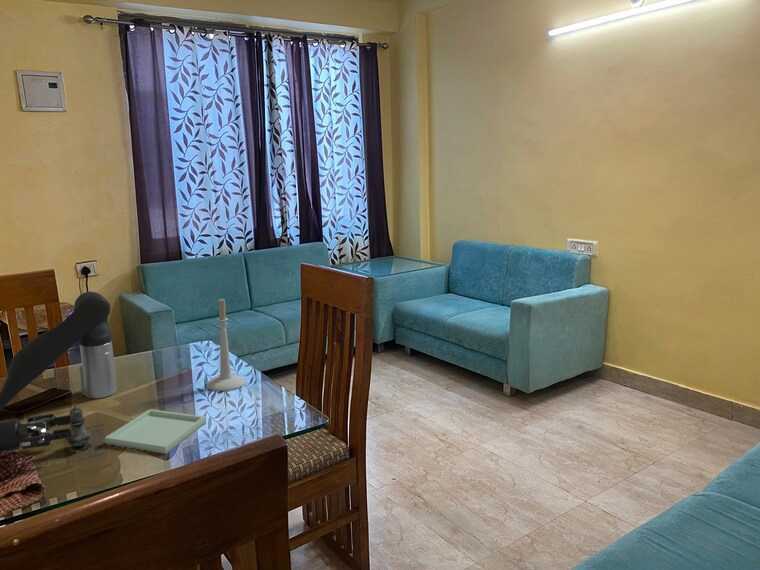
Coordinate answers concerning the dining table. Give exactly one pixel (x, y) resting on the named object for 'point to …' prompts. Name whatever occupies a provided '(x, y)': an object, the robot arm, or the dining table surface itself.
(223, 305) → the candlestick
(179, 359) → the dining table surface
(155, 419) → the tray
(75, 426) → the dark grey chess piece
